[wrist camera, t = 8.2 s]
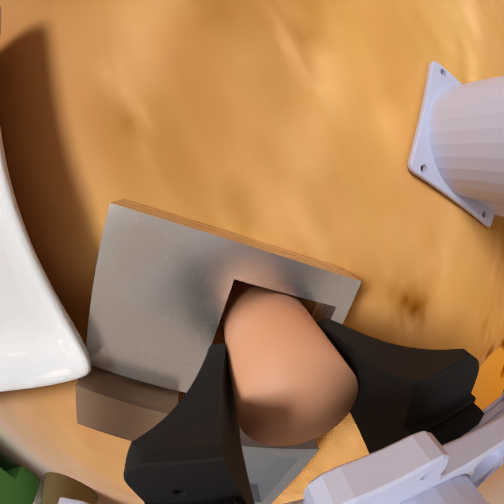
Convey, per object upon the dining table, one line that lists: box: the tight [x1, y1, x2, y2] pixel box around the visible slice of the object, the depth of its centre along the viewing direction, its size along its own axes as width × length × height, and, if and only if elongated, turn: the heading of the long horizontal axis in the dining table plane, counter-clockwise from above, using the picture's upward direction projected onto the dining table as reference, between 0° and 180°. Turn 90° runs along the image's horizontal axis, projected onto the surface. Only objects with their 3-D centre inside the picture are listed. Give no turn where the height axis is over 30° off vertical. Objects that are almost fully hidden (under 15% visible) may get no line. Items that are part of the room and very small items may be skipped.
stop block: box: [76, 365, 179, 441], centre depth 13 cm, size 5×3×4 cm, turn 70°
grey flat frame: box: [86, 199, 362, 393], centre depth 13 cm, size 12×8×2 cm
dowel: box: [222, 282, 358, 446], centre depth 12 cm, size 4×4×7 cm
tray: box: [239, 426, 319, 504], centre depth 16 cm, size 9×9×2 cm
